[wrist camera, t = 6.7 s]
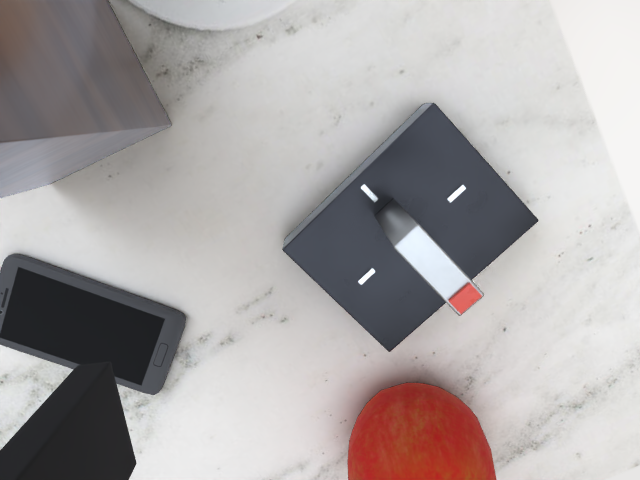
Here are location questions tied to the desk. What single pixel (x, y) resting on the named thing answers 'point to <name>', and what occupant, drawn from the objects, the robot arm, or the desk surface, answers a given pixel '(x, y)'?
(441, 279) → the stove knob
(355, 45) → the desk surface
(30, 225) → the desk surface
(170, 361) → the cell phone
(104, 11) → the block
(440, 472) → the apple
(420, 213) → the panel
